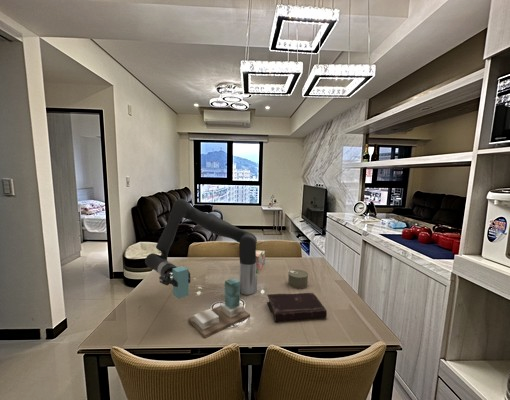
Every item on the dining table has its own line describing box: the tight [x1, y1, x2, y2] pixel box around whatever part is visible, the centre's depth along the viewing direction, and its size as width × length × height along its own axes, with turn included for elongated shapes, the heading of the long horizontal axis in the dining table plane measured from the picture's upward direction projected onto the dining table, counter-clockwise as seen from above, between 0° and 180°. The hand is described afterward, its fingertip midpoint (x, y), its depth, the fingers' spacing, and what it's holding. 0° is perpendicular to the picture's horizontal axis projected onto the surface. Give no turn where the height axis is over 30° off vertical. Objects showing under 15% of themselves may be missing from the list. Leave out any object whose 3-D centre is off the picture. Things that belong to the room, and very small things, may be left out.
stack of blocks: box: [256, 249, 266, 274], centre depth 178 cm, size 21×6×12 cm, turn 166°
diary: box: [266, 292, 328, 323], centre depth 124 cm, size 19×25×5 cm
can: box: [287, 269, 309, 289], centre depth 152 cm, size 12×12×7 cm
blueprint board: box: [187, 277, 251, 339], centre depth 114 cm, size 24×15×16 cm, turn 131°
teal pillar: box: [172, 265, 190, 300], centre depth 109 cm, size 5×5×12 cm
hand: (183, 282), depth 107 cm, fingers closed on teal pillar, 5 cm apart
